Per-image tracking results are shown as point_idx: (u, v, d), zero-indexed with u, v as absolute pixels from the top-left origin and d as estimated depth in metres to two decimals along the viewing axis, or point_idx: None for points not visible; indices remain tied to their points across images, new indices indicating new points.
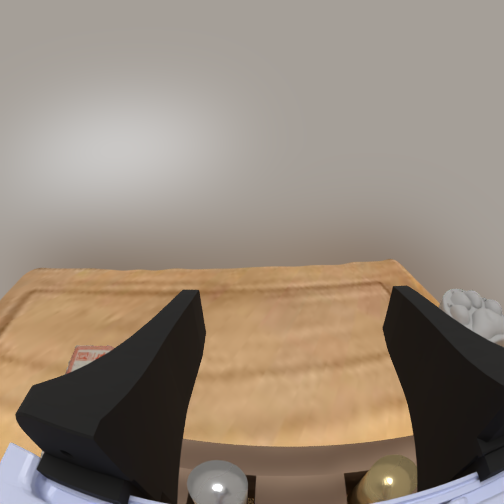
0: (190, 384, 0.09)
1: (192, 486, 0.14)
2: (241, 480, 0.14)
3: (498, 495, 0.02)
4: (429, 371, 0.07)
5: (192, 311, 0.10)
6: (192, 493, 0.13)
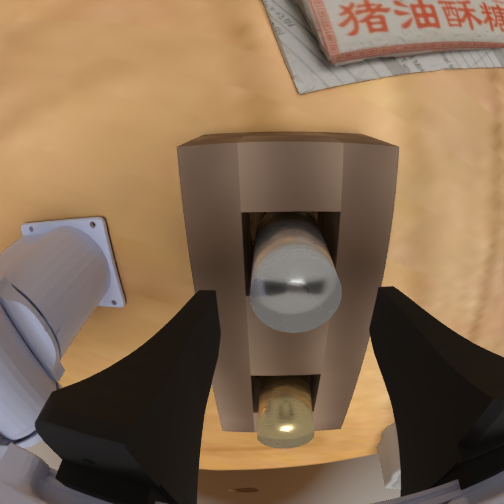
0: (207, 385, 0.09)
1: (286, 266, 0.11)
2: (304, 324, 0.12)
3: (498, 495, 0.02)
4: (412, 374, 0.07)
5: (210, 311, 0.10)
6: (272, 268, 0.11)
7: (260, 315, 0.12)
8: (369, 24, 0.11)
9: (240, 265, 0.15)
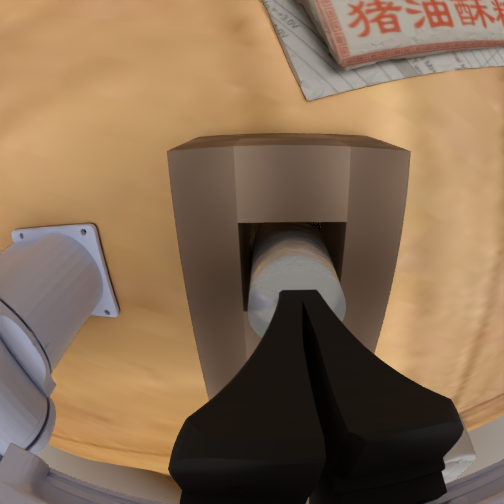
0: None
1: (287, 279, 0.10)
2: None
3: (498, 495, 0.02)
4: (314, 384, 0.07)
5: None
6: (272, 282, 0.10)
7: (259, 330, 0.11)
8: (381, 24, 0.10)
9: (237, 280, 0.14)
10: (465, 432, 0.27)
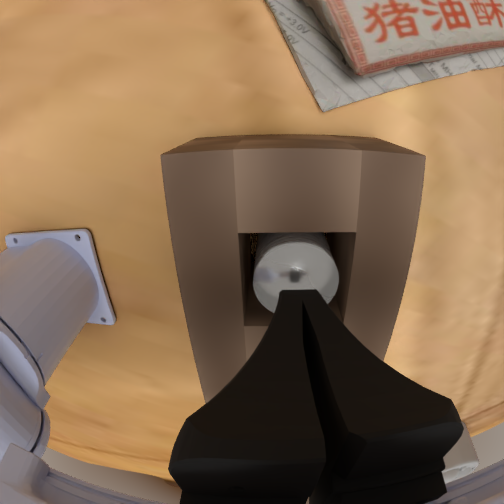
0: None
1: (287, 252, 0.12)
2: None
3: (498, 495, 0.02)
4: (314, 384, 0.07)
5: None
6: (274, 254, 0.12)
7: (263, 300, 0.13)
8: (398, 28, 0.09)
9: (238, 293, 0.13)
10: (468, 438, 0.26)
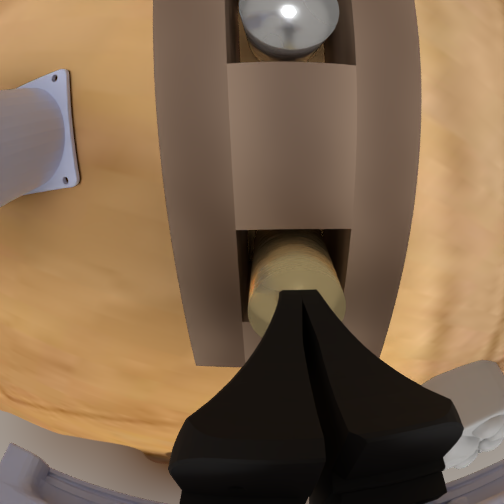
0: None
1: None
2: (303, 39, 0.09)
3: (498, 495, 0.02)
4: (314, 384, 0.07)
5: None
6: None
7: (250, 25, 0.09)
8: None
9: (220, 19, 0.08)
10: None
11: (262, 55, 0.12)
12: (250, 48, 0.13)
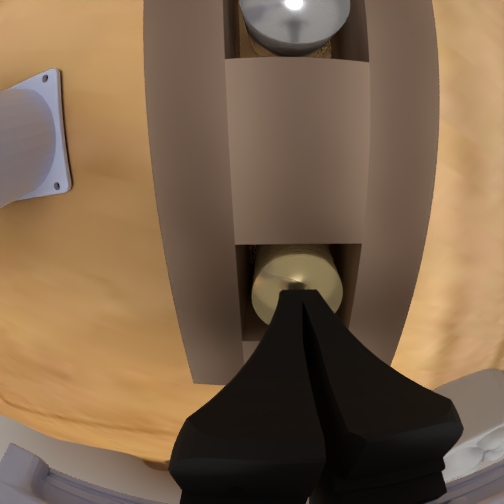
0: None
1: None
2: (310, 32, 0.08)
3: (498, 495, 0.02)
4: (314, 384, 0.07)
5: None
6: None
7: (251, 17, 0.07)
8: None
9: (218, 11, 0.07)
10: None
11: (264, 51, 0.11)
12: (251, 44, 0.12)
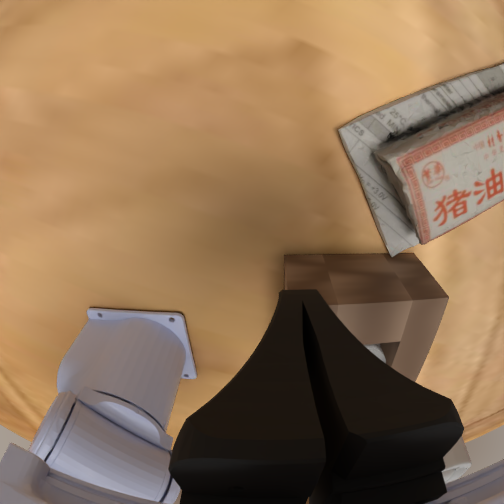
0: None
1: None
2: None
3: (498, 495, 0.02)
4: (314, 384, 0.07)
5: None
6: None
7: None
8: (455, 211, 0.15)
9: None
10: (462, 444, 0.31)
11: None
12: None
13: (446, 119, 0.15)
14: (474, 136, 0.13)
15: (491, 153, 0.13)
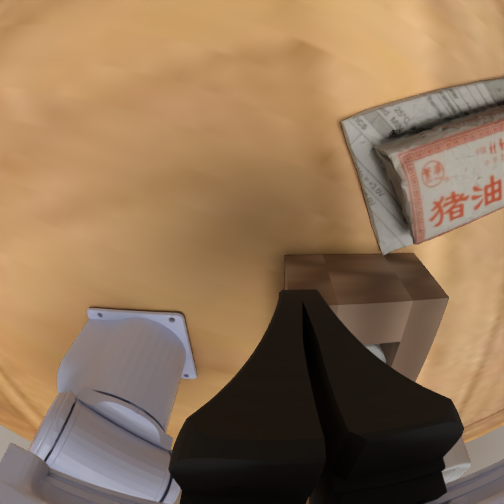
0: None
1: None
2: None
3: (498, 495, 0.02)
4: (314, 384, 0.07)
5: None
6: None
7: None
8: (451, 214, 0.16)
9: None
10: (462, 444, 0.31)
11: None
12: None
13: (450, 123, 0.15)
14: (477, 141, 0.13)
15: (492, 159, 0.13)
